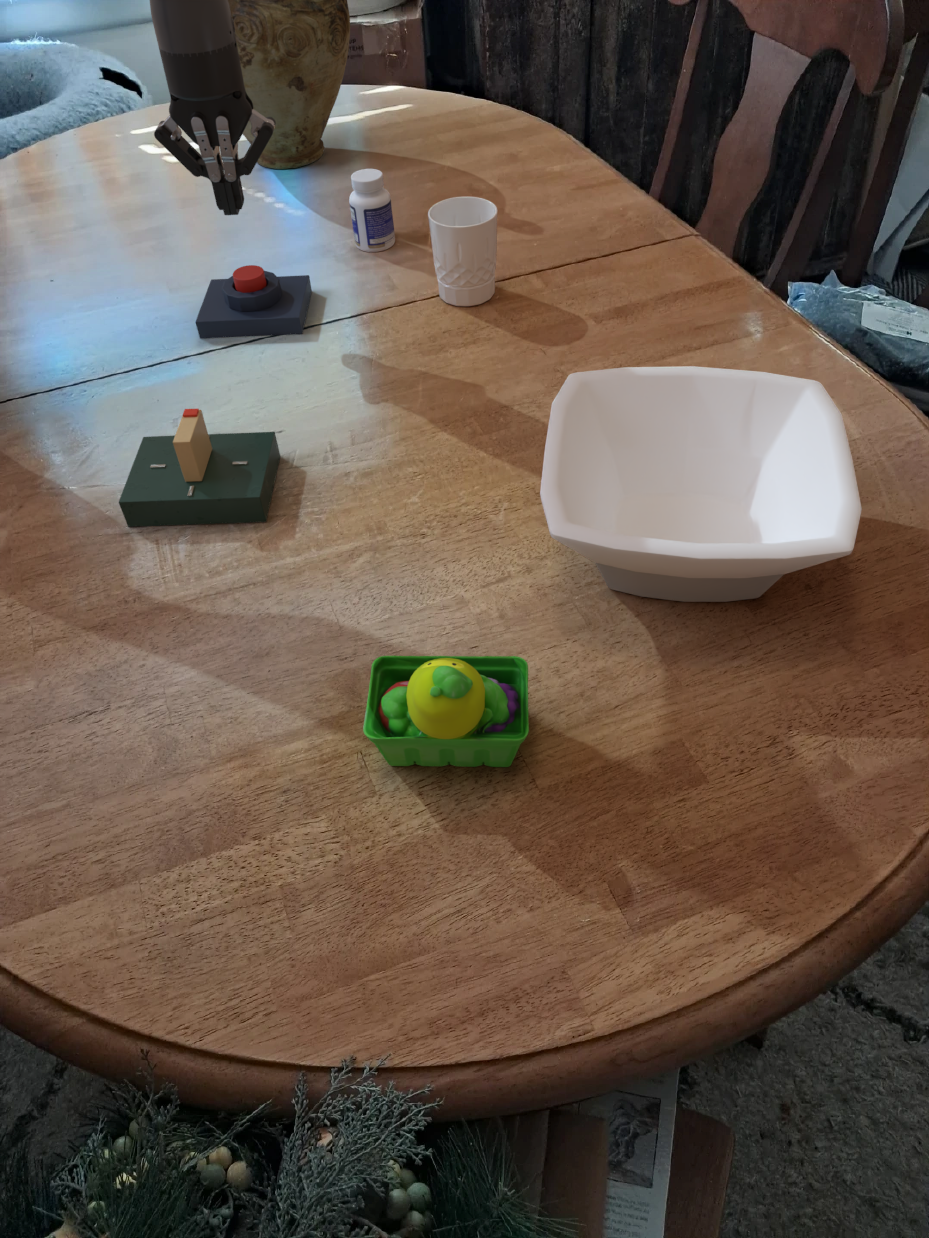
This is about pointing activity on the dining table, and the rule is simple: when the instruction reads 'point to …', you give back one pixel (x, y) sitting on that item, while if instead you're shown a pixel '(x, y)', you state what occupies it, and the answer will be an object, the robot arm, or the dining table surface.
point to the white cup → (464, 249)
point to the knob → (192, 445)
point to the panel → (202, 482)
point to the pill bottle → (371, 211)
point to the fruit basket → (448, 709)
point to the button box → (255, 308)
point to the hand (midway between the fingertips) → (232, 212)
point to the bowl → (698, 479)
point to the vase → (292, 71)
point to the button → (249, 279)
